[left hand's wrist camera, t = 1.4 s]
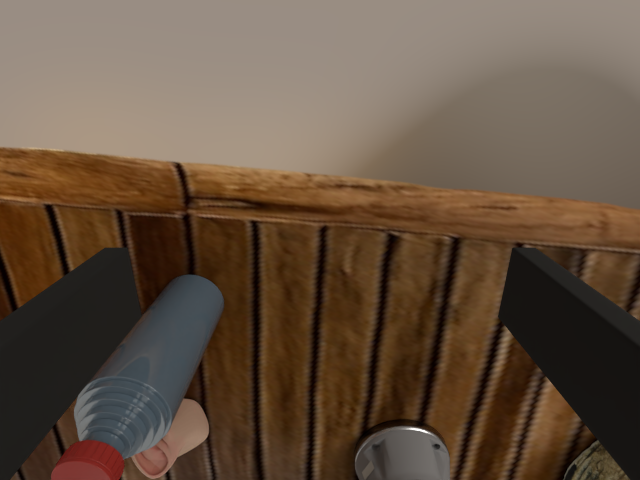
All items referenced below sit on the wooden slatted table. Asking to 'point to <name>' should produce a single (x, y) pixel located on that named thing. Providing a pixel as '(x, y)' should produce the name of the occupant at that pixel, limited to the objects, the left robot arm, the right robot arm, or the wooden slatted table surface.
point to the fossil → (595, 466)
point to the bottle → (150, 369)
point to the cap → (89, 462)
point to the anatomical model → (174, 440)
